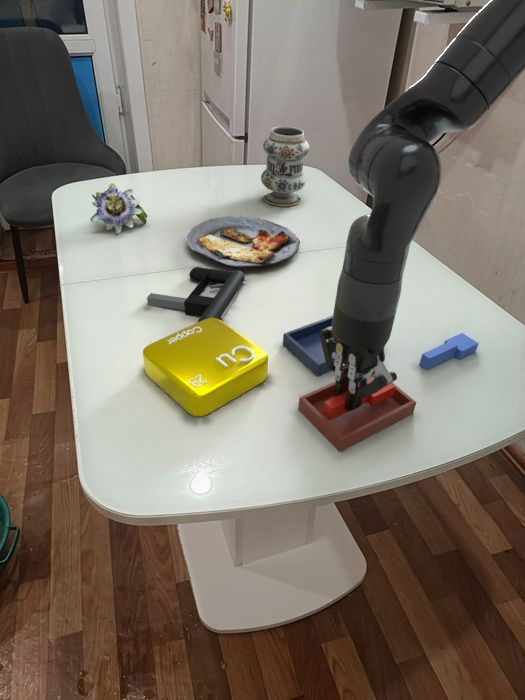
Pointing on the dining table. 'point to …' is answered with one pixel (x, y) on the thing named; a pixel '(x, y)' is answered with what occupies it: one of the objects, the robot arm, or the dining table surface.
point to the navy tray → (309, 345)
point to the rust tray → (354, 416)
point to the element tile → (205, 365)
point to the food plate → (243, 241)
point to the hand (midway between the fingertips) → (346, 403)
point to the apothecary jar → (284, 165)
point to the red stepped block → (337, 403)
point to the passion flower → (117, 208)
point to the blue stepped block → (449, 350)
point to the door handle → (203, 304)
